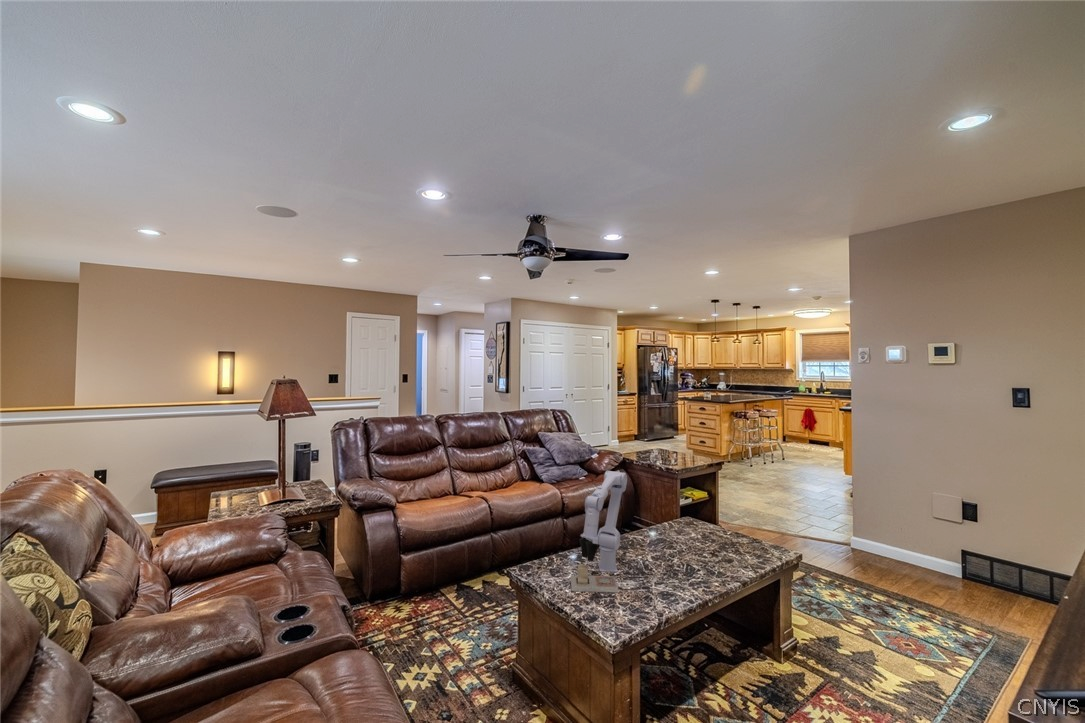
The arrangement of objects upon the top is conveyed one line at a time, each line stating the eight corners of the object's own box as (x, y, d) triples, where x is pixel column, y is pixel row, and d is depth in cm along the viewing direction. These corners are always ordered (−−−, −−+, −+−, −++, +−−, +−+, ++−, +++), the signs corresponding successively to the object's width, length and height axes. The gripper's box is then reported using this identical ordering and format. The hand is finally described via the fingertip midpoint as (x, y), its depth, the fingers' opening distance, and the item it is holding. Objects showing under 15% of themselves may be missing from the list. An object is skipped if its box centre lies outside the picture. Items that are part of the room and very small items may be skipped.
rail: (570, 579, 194) (570, 574, 194) (614, 581, 194) (614, 575, 194) (571, 591, 184) (571, 585, 184) (618, 592, 184) (618, 587, 184)
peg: (577, 583, 191) (577, 564, 191) (586, 583, 191) (587, 564, 191) (578, 587, 187) (578, 568, 187) (587, 588, 187) (587, 568, 187)
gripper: (577, 521, 197) (573, 554, 194) (587, 526, 184) (583, 561, 180) (592, 523, 199) (588, 556, 195) (604, 528, 185) (600, 563, 182)
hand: (587, 559), depth 188 cm, fingers open, 7 cm apart
